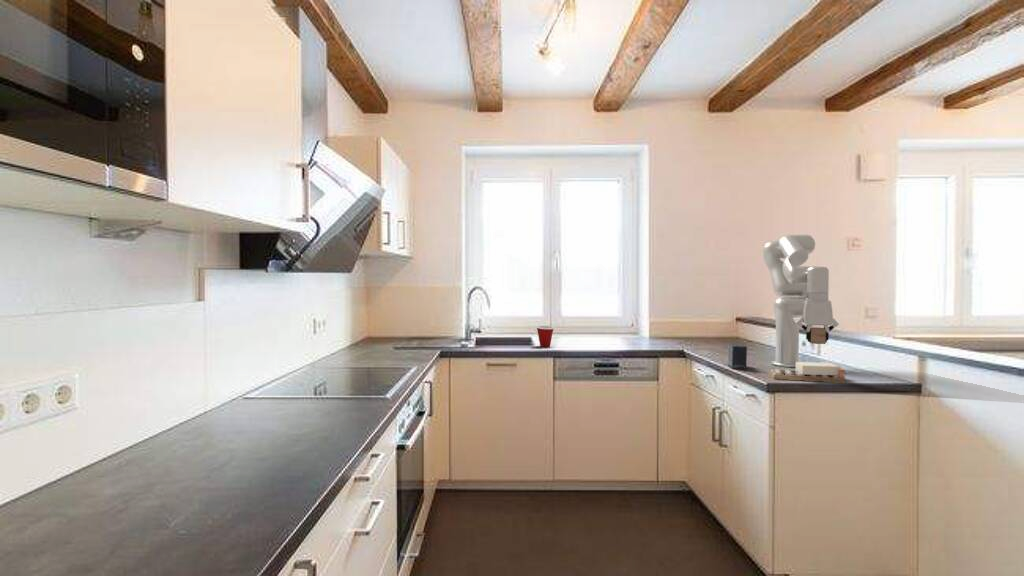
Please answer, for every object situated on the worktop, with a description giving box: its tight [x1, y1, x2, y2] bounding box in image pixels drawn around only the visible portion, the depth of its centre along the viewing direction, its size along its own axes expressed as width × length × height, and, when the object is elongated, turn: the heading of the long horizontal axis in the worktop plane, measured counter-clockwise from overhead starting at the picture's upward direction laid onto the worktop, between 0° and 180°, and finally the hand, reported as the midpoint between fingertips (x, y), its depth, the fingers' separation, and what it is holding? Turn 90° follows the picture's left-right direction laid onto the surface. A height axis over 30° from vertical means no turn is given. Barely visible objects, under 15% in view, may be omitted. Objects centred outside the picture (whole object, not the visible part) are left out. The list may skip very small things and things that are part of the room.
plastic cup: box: [535, 324, 555, 348], centre depth 303 cm, size 11×11×12 cm
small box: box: [727, 342, 748, 370], centre depth 235 cm, size 11×6×10 cm, turn 168°
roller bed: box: [769, 364, 846, 384], centre depth 211 cm, size 12×25×5 cm, turn 69°
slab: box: [795, 361, 839, 375], centre depth 210 cm, size 8×13×4 cm, turn 78°
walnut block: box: [809, 327, 827, 345], centre depth 209 cm, size 5×5×6 cm
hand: (817, 341), depth 209 cm, fingers closed on walnut block, 5 cm apart
